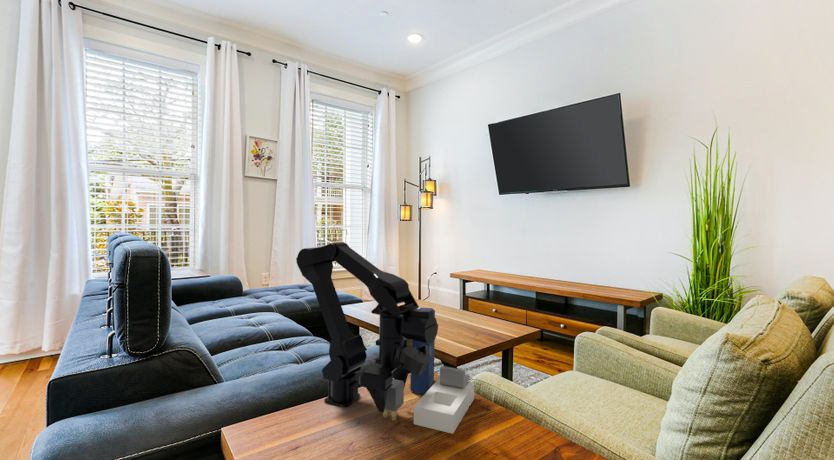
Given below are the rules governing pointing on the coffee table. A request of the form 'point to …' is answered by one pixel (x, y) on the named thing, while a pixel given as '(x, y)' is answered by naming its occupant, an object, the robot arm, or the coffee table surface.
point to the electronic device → (426, 377)
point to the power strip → (443, 406)
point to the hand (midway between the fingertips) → (391, 402)
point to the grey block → (453, 377)
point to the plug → (394, 398)
